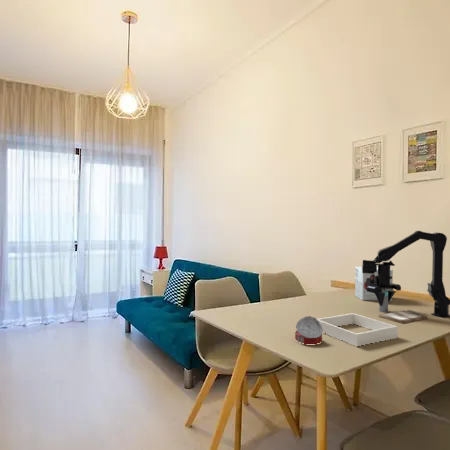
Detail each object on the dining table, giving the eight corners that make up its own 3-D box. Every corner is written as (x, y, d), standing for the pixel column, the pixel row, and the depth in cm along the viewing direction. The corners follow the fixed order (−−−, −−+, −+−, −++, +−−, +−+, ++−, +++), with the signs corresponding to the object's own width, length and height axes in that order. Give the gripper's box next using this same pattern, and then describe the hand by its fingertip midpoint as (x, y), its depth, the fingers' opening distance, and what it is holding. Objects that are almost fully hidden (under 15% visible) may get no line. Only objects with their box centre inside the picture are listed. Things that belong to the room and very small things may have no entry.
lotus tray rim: (353, 323, 156) (353, 313, 156) (397, 337, 136) (397, 326, 136) (314, 330, 146) (314, 319, 145) (356, 347, 126) (356, 334, 126)
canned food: (320, 352, 134) (333, 331, 132) (307, 356, 127) (321, 334, 124) (298, 332, 141) (309, 312, 139) (284, 335, 134) (296, 314, 131)
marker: (382, 309, 179) (383, 290, 179) (389, 311, 176) (390, 291, 176) (377, 310, 177) (377, 291, 177) (384, 312, 174) (384, 292, 174)
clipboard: (403, 312, 174) (403, 308, 174) (427, 318, 164) (427, 314, 164) (378, 316, 166) (378, 312, 166) (401, 323, 155) (401, 318, 155)
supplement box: (362, 300, 200) (362, 269, 200) (354, 295, 213) (354, 266, 213) (393, 301, 199) (393, 269, 199) (383, 296, 212) (383, 266, 212)
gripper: (382, 271, 188) (382, 300, 188) (357, 273, 179) (357, 303, 179) (401, 273, 178) (401, 304, 178) (376, 276, 169) (376, 308, 169)
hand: (383, 305), depth 176 cm, fingers closed on marker, 4 cm apart
